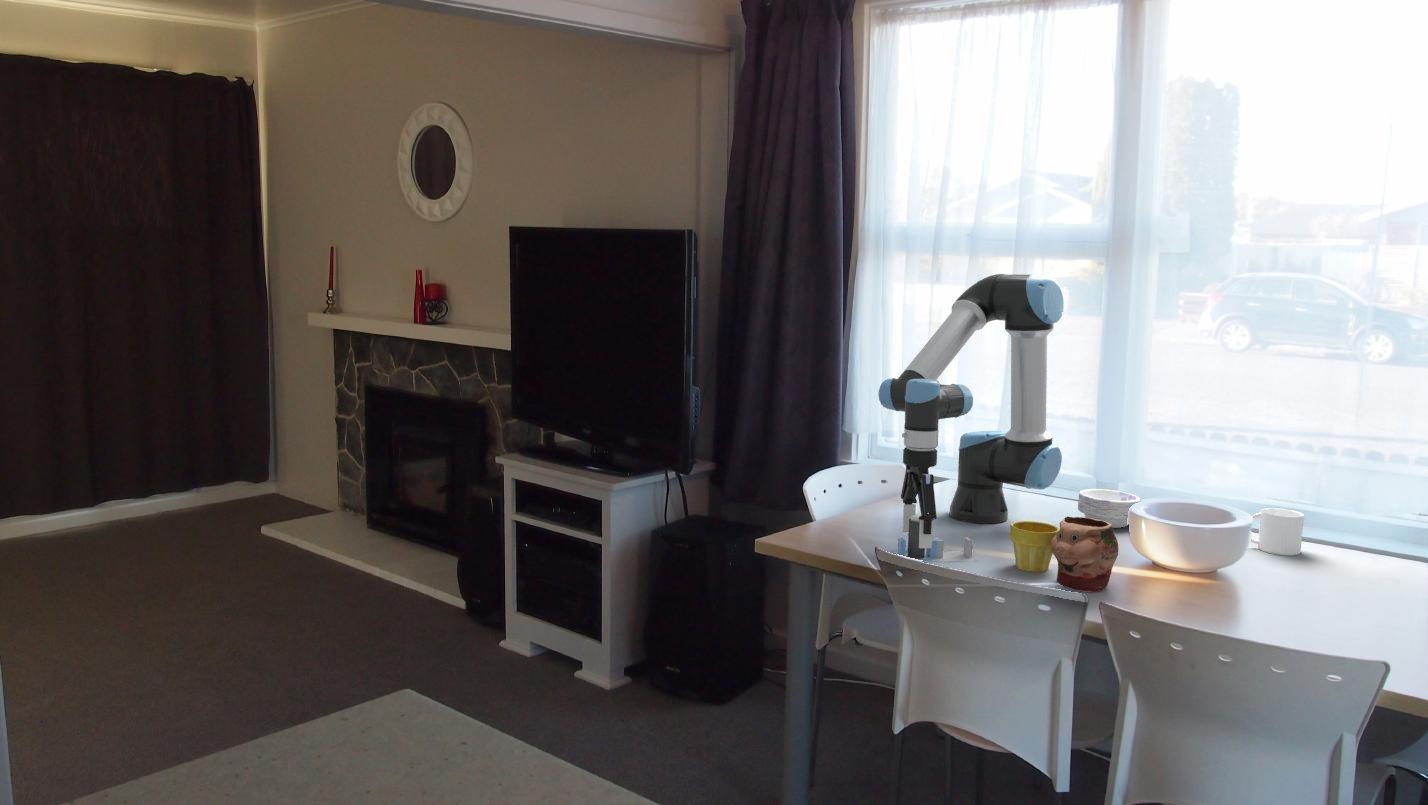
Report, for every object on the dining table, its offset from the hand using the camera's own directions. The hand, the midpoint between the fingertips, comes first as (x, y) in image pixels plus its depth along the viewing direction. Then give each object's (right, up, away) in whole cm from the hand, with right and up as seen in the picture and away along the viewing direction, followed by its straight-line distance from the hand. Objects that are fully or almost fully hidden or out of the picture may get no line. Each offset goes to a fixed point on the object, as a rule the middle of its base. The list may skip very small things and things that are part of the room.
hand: (916, 539), depth 232 cm
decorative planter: (+32, -7, -17) cm, 37 cm away
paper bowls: (+57, -1, +35) cm, 67 cm away
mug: (+88, -4, +13) cm, 89 cm away
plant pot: (+24, -6, -6) cm, 26 cm away
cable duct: (+4, -4, +1) cm, 6 cm away
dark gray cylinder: (0, -4, 0) cm, 4 cm away
